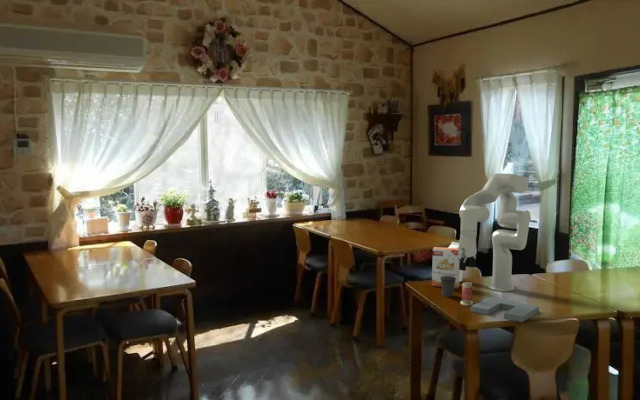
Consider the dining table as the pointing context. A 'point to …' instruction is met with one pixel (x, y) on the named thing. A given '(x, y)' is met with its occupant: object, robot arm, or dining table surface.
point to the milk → (456, 245)
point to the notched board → (514, 308)
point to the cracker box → (445, 265)
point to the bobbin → (467, 294)
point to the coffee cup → (447, 285)
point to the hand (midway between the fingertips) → (467, 268)
